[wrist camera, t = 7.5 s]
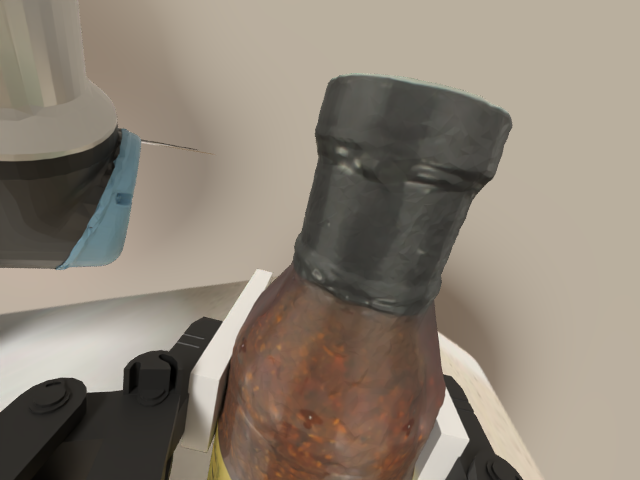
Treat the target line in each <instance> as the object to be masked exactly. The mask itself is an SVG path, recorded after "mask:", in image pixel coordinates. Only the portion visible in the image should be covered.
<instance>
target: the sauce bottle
mask: <svg viewBox="0 0 640 480" xmlns="http://www.w3.org/2000/svg"><path fill="white" fill-rule="evenodd" d="M511 128H512V121H511V117H510V115H509V113H508V112H507V111H506V110H505V109H503V108H502V107H499V106H497V105H494V104H492V103H490V102H488V101H487V100H485V99H484V98H483V97H481V96H478V95H475V94H471V93H469V92H466V91H464V90H461V89H456V88H452V87H449V86H444V85H441V84H437V83H432V82H426V81H421V80H418V79H413V78H406V77H401V76H390V75H379V74H357V73H353V74H352V73H351V74H346V75H340V76H338V77H336V78H332V79H331V80H330V82H329V83H328V86H327V89H326V93H325V97H324V100H323V103H322V106H321V110H320V114H319V119H318V123H317V126H316V129H315V137H316V143H317V152H318V157H319V158H318V163H317V167H316V170H315V175H314V182H313V185H312V189H311V192H310V197H309V201H308V205H307V209H306V212H305V218H304V223H303V228H302V231H301V233H300V234H299V235H298V237H297V239H296V242H295V246H294V248H295V253H294V256H293V261H292V263H291V265H290V266H289V267H288V268H287V269H286V270H285V271H284V272H283V273H282V274H281V275H280V276H279V277H278V278H277V279H275V280H274V281H273V282H272V283H271V284H270V285H269V286H268V287H267V288H266V289H265V290H264V291H263V292H262V293H261V294H260V296H259V297H258V299H257V300H256V302H255V303H254V305H253V307H252V309H251V310H250V312H249V314H248V316H247V318H246V320H245V322H244V323H243V325H242V327H241V329H240V331H239V333H238V335H237V337H236V340H235V344H234V347H233V353H232V358H231V363H230V370H229V378H228V385H227V391H226V394H225V401H224V403H223V405H222V408H221V410H220V413H219V416H218V421H217V427H216V433H215V439H214V444H213V450H212V455H211V461H210V467H209V472H208V478H207V480H413V476H414V470H415V464H416V461H417V460H418V457H419V455H420V453H421V451H422V450H423V448H424V446H425V444H426V442H427V440H428V438H429V436H430V433H431V431H432V429H433V427H434V424H435V421H436V418H437V416H438V414H439V410H440V408H441V407H442V405H443V402H444V398H445V390H446V385H445V381H444V377H443V372H442V367H441V358H440V348H439V339H438V332H437V324H436V316H435V305H434V299H435V298H436V296H437V295H438V293H439V291H440V287H441V283H442V280H441V274H442V271H443V269H444V266H445V264H446V263H447V260H448V258H449V255H450V252H451V249H452V246H453V244H454V243H455V240H456V237H457V236H458V233H459V229H460V228H461V226H462V225H463V223H464V221H465V219H466V215H467V212H468V210H469V207H470V204H471V202H472V200H473V199H474V197H475V196H476V195H477V194H478V192H479V191H480V190H481V189H482V188H483V187H484V186H485V185H486V184H487V183H488V182H489V181H491V180H492V178H493V177H494V175H495V173H496V171H497V167H498V164H499V161H500V159H501V156H502V152H503V148H504V144H505V142H506V140H507V138H508V135H509V132H510V130H511Z"/></svg>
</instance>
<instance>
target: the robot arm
mask: <svg viewBox="0 0 640 480" xmlns="http://www.w3.org/2000/svg"><path fill="white" fill-rule="evenodd" d="M140 150H141V139H140V138H139V137H138V136H137V135H136V134H134V133H131V132H129V131H128V130H126V129H119V128H118V125H117V114H116V109H115V106H114V104H113V102H112V101H111V99H110V98H109V97H108V96H107V95H106V94H105V92H104V91H102V90H101V89H100V88H99V87H98V86H96V85H95V84H94V83H93V82H92V81H90V80H89V79H88V78H87V77H86V69H85V60H84V51H83V42H82V32H81V23H80V14H79V4H78V0H0V268H50V269H56V270H63V269H66V268H68V267H86V266H104V265H107V264H110V263H112V262H113V261H114V260H116V259H117V258H118V257H119V256H120V254H121V252H122V250H123V246H124V242H125V238H126V233H127V228H128V223H129V217H130V211H131V205H132V198H133V193H134V187H135V183H136V177H137V171H138V164H139V158H140ZM272 274H273V272H268V271H264V270H260V269H257V270H256V271H255V273H254V275H253V276H252V278H251V279H250V281H249V282H248V284H247V285H246V287H245V288H244V290H243V292H242V293H241V295H240V296H239V298H238V299H237V301H236V303H235V304H234V306H233V307H232V309H231V310H230V312H229V313H228V315H227V317H226V318H225V320H224V321H219V320H215V319H211V318H207V317H203V318H201V319H199V320H197V321H195V322H194V323H192V324H191V325H190V326H189V328H188V329H187V330H186V331H185V333H184V335H182V336H181V338H180V339H179V340H178V342H177V343H176V344H175V345H174V346H173V348H172V349H171V350H170V351H162V350H159V351H150V352H147V353H144V354H141V355H139V356H137V357H136V358H134V359H133V360H131V361H130V362H129V363H128V364H127V366H126V367H125V368H124V379H123V390H121V391H113V392H94V393H87V388H86V386H85V385H84V384H83V382H82V381H79V380H77V379H74V378H57V379H52V380H48V381H45V382H43V383H40V384H38V385H35V386H33V387H32V388H30V389H29V390H27V391H26V392H24V393H23V394H21V395H20V396H19V397H18V398H16V399H15V400H14V401H13V402H12V403H11V404H9V405H8V406H7V407H6V408H5V409H4V410H2V411H1V412H0V480H169V476H170V472H171V467H172V462H173V454H174V450H175V448H176V446H177V445H178V443H179V441H180V439H181V437H182V443H181V447H184V448H188V449H193V450H197V451H201V452H205V453H207V451H208V449H209V447H210V444H211V442H212V440H213V437H214V435H215V432H216V427H217V421H218V416H219V413H220V410H221V408H222V405H223V403H224V401H225V394H226V391H227V385H228V378H229V370H230V363H231V358H232V353H233V347H234V344H235V340H236V337H237V335H238V333H239V331H240V329H241V327H242V325H243V323H244V322H245V320H246V318H247V316H248V314H249V312H250V310H251V309H252V307H253V305H254V303H255V302H256V300H257V299H258V297H259V296H260V294H261V293H262V292H263V291H264V290H265V289H266V288H267V287H268V286H269V285H270V284H271V279H272ZM443 377H444V381H445V385H446V390H445V398H444V402H443V405H442V407H441V408H440V410H439V414H438V416H437V418H436V421H435V424H434V427H433V429H432V431H431V433H430V436H429V438H428V440H427V442H426V444H425V446H424V448H423V450H422V451H421V453H420V455H419V457H418V460H417V461H416V464H415V470H414V476H413V480H523V479H522V477H521V476H520V475H519V473H518V472H517V471H516V469H514V468H513V467H512V466H511V465H510V464H509V463H508V462H507V461H506V460H504V459H502V458H501V457H499V456H498V455H496V454H495V453H494V451H493V449H492V447H491V445H490V443H489V441H488V439H487V437H486V435H485V433H484V431H483V429H482V427H481V425H480V423H479V421H478V419H477V417H476V415H475V414H474V411H473V409H472V407H471V405H470V404H469V403H468V399H467V397H466V395H465V393H464V391H463V389H462V388H461V387H460V385H459V384H458V383H457V382H456V381H455V380H454V379H453V378H452V376H448V375H444V374H443Z"/></svg>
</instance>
